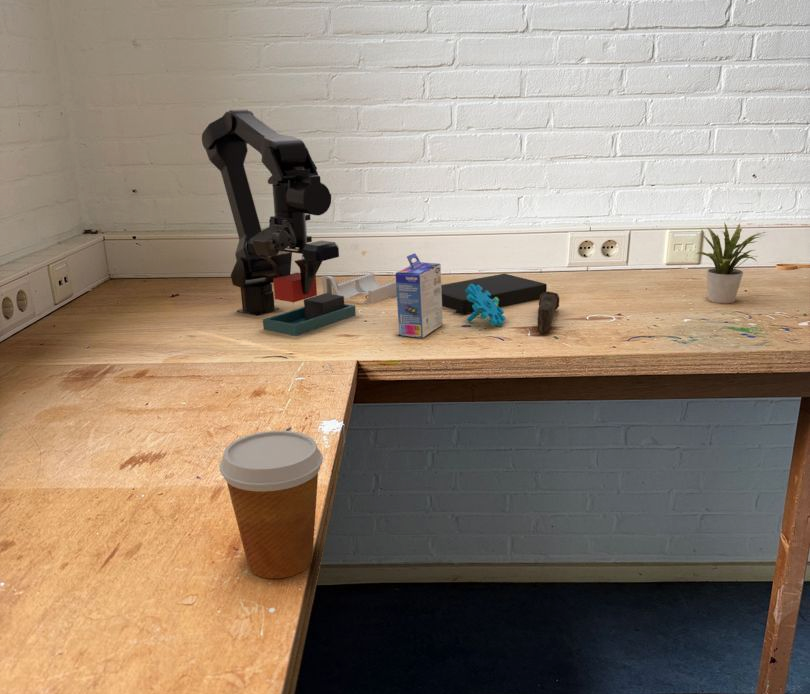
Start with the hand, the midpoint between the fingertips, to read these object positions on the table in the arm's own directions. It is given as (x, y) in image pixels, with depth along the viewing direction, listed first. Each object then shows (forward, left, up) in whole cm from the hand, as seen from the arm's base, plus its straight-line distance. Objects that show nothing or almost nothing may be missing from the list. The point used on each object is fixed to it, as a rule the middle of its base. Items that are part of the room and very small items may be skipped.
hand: (295, 292), depth 153 cm
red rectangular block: (0, 0, -1) cm, 1 cm away
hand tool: (+39, +30, -8) cm, 50 cm away
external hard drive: (+19, +39, -7) cm, 44 cm away
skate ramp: (-6, +29, -8) cm, 30 cm away
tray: (0, +4, -7) cm, 8 cm away
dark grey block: (0, +8, -7) cm, 10 cm away
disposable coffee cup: (+56, -61, -8) cm, 84 cm away
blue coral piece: (+29, +23, -8) cm, 38 cm away
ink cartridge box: (+21, +12, -8) cm, 25 cm away
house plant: (+63, +63, -8) cm, 89 cm away
